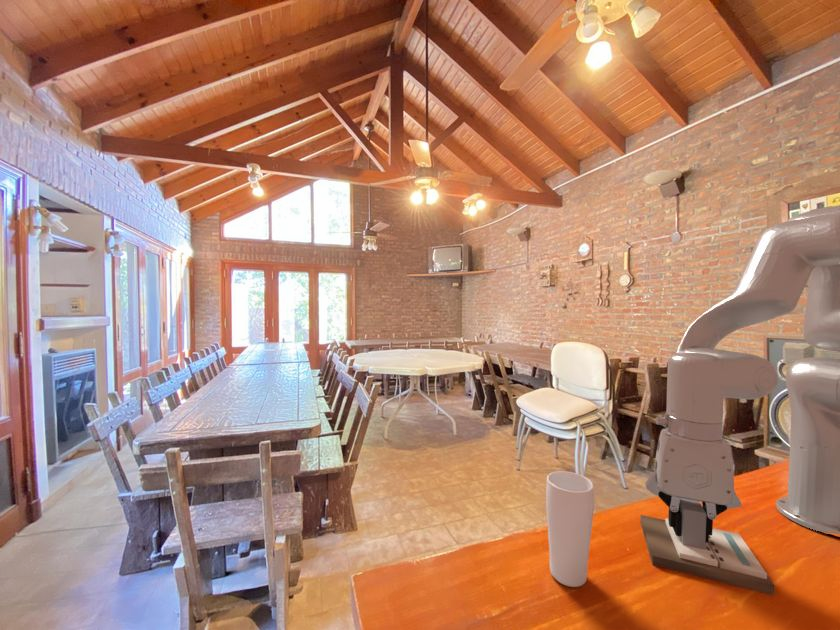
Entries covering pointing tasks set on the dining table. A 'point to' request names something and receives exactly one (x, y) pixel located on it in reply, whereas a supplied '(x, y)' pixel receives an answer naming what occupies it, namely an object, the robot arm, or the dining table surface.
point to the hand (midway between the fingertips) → (689, 533)
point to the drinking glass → (569, 525)
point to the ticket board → (726, 546)
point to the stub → (692, 534)
